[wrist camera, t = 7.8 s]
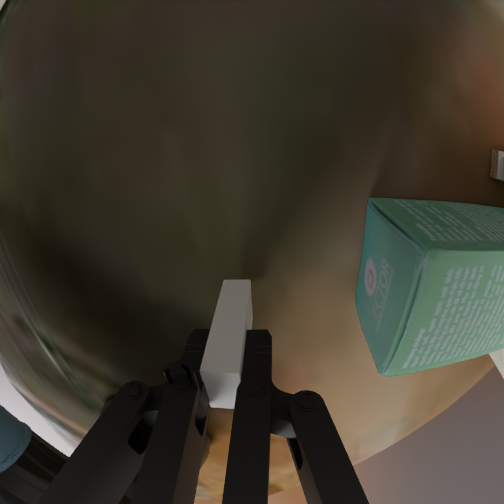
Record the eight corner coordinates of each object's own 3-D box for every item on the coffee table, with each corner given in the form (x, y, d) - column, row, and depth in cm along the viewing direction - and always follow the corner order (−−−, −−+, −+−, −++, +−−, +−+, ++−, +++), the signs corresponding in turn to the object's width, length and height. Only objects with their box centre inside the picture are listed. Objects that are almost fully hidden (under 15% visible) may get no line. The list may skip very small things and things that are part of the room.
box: (360, 194, 15) (423, 254, 8) (506, 205, 13) (570, 248, 7) (348, 299, 18) (377, 387, 11) (484, 285, 17) (529, 341, 10)
